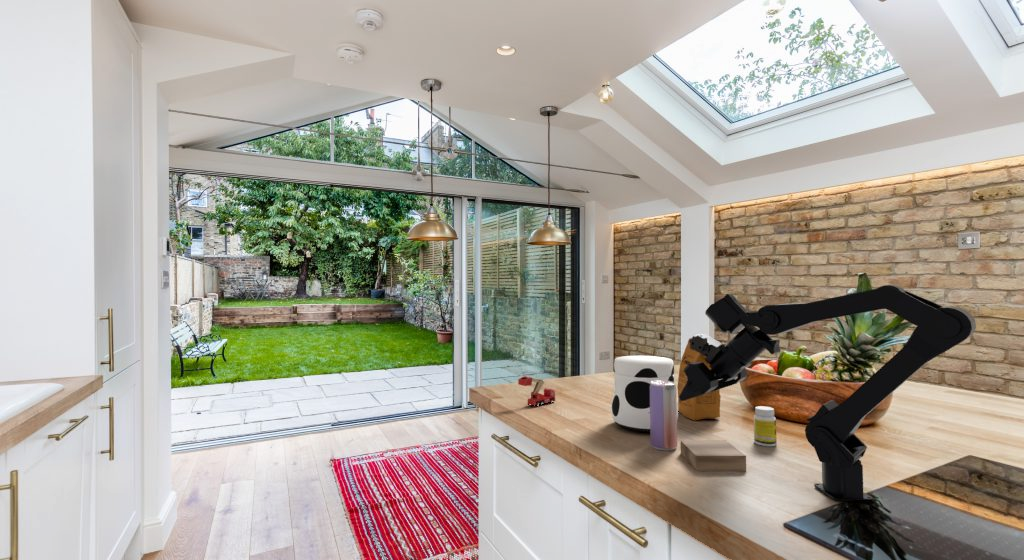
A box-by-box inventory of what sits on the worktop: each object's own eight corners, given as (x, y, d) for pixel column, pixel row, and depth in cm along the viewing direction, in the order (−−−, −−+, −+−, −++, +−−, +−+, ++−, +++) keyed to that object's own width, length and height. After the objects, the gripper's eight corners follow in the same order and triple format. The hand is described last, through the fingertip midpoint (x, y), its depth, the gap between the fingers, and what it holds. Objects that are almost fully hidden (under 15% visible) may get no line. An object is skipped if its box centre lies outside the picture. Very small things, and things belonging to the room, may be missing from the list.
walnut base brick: (746, 470, 97) (746, 455, 97) (696, 470, 98) (696, 455, 98) (726, 453, 107) (725, 440, 107) (680, 453, 108) (680, 440, 108)
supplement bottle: (779, 447, 111) (778, 411, 111) (757, 446, 112) (756, 410, 112) (772, 441, 116) (772, 405, 116) (751, 440, 117) (750, 405, 117)
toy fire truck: (556, 402, 157) (556, 373, 157) (525, 410, 148) (524, 378, 148) (549, 401, 159) (549, 371, 160) (518, 408, 151) (517, 377, 151)
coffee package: (705, 410, 146) (704, 337, 146) (725, 421, 133) (723, 341, 134) (673, 410, 145) (672, 337, 146) (689, 422, 133) (688, 342, 133)
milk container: (623, 415, 141) (622, 353, 141) (684, 423, 132) (683, 357, 132) (602, 430, 126) (601, 361, 126) (670, 440, 117) (669, 366, 117)
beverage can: (650, 450, 110) (649, 384, 111) (650, 442, 116) (649, 379, 116) (677, 452, 109) (676, 385, 109) (676, 444, 114) (675, 380, 115)
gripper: (732, 319, 110) (687, 362, 118) (692, 324, 97) (645, 372, 105) (769, 357, 104) (719, 400, 112) (732, 368, 91) (679, 415, 99)
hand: (691, 395), depth 107 cm, fingers open, 9 cm apart
